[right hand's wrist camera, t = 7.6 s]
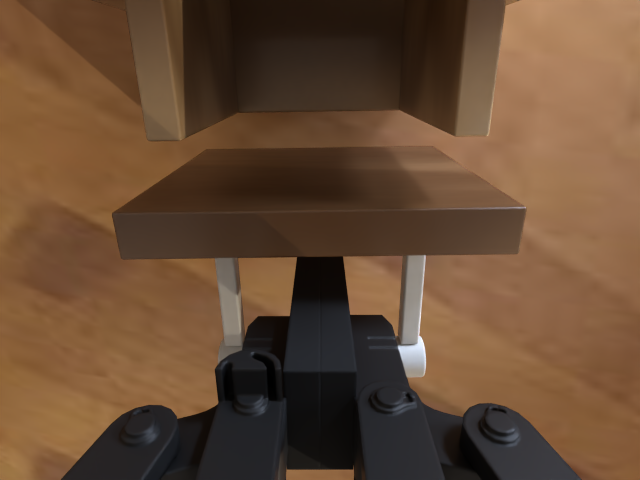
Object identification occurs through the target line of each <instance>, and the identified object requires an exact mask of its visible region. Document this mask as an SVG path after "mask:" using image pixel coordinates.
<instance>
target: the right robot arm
mask: <svg viewBox="0 0 640 480" xmlns="http://www.w3.org/2000/svg"><path fill="white" fill-rule="evenodd" d="M215 375H216V384H217V393H218V405H216V406H215V407H213V408H211V409H209V410H207V411H205V412H202V413H199V414H196V415H192V416H188V417H184V418H179V419H177V416H176V415H175V414H174V412H173V411H172V410H171V409H169V408H167V407H164V406H162V405H147V406H142V407H138V408H135V409H133V410H131V411H129V412H127V413H125V414H123V415H121V416H120V417H119V418H118V419H116V420H115V421H114V422H113V423H112V424H111V425H110V426H109V427H108V428H107V429H106V430H105V431H104V432H103V434H102V435H101V436H100V437H99V438H98V439H97V440H96V441H95V442H94V444H93V445H92V446H91V447H90V448H89V449H88V450H87V451H86V452H85V454H84V455H83V456H82V457H81V458H80V459H79V460H78V461H77V462H76V463H75V465H74V466H73V467H72V468H71V469H70V470H69V471H68V472H67V473H66V475H65V476H64V477H63V478H62V479H61V480H286V468H287V469H353V465H354V480H581V479H580V477H579V476H578V475H577V474H576V473H575V472H574V471H573V470H572V469H571V468H570V466H569V465H568V464H567V463H566V462H565V461H564V460H563V459H562V458H561V457H560V455H559V454H558V453H557V452H556V451H555V450H554V449H553V448H552V447H551V446H550V444H549V443H548V442H547V441H546V440H545V439H544V438H543V437H542V436H541V435H540V433H539V432H538V431H537V430H536V429H535V428H534V427H533V426H532V425H531V424H530V422H528V421H527V420H526V419H525V418H524V417H522V416H521V415H520V414H519V413H517V412H515V411H513V410H511V409H509V408H507V407H505V406H501V405H497V404H492V403H485V404H477V405H475V406H472V407H470V408H469V409H468V410H467V411H466V412H465V414H464V416H463V417H459V416H455V415H451V414H447V413H443V412H440V411H437V410H434V409H432V408H430V407H428V406H427V405H425V404H423V403H422V402H421V400H420V398H419V396H418V395H417V393H416V392H415V391H413V390H412V389H411V388H410V387H409V383H408V380H407V376H406V373H405V369H404V366H403V362H402V359H401V355H400V352H399V349H398V345H397V341H396V339H395V334H394V330H393V327H392V325H391V324H390V323H389V322H388V321H387V320H386V319H385V318H384V317H383V316H382V315H350V311H349V303H348V295H347V286H346V278H345V270H344V262H343V256H338V257H297V263H296V271H295V279H294V287H293V295H292V303H291V312H290V316H258V317H257V318H256V319H255V320H254V321H253V322H252V323H251V324H250V325H249V326H248V329H247V332H246V336H245V341H244V343H243V347H242V350H241V351H238V352H235V353H233V354H230V355H228V356H227V357H225V358H224V359H223V360H221V361H220V362H219V364H218V365H217V367H216V368H215Z"/></svg>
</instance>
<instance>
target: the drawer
mask: <svg viewBox="0 0 640 480" xmlns="http://www.w3.org/2000/svg"><path fill="white" fill-rule="evenodd" d="M124 1H125V8H126V14H127V20H128V26H129V32H130V38H131V44H132V51H133V57H134V63H135V69H136V75H137V81H138V87H139V94H140V100H141V106H142V112H143V118H144V124H145V130H146V137H147V140H148V141H180V140H182V139H184V138H186V137H188V136H191V135H193V134H195V133H197V132H199V131H201V130H203V129H205V128H207V127H209V126H211V125H213V124H215V123H217V122H220V121H222V120H224V119H226V118H228V117H230V116H232V115H234V114H236V113H252V112H316V111H380V110H400V111H403V112H405V113H407V114H409V115H411V116H413V117H415V118H417V119H419V120H422V121H424V122H426V123H428V124H430V125H432V126H434V127H436V128H439V129H441V130H443V131H445V132H447V133H449V134H451V135H453V136H456V137H462V136H487V135H488V134H489V129H490V122H491V114H492V106H493V98H494V91H495V83H496V75H497V67H498V60H499V52H500V44H501V36H502V29H503V21H504V13H505V5H506V0H124ZM525 215H526V207H525V206H523V205H522V204H520V203H519V202H517V201H516V200H514V199H513V198H511V197H510V196H508V195H507V194H505V193H503V192H502V191H500V190H499V189H497V188H496V187H494V186H493V185H491V184H490V183H488V182H487V181H485V180H484V179H482V178H481V177H479V176H478V175H476V174H474V173H473V172H471V171H470V170H468V169H467V168H465V167H464V166H462V165H461V164H459V163H458V162H456V161H455V160H453V159H452V158H450V157H449V156H447V155H445V154H444V153H442V152H441V151H439V150H438V149H436V148H435V147H433V146H405V147H338V148H272V149H207V150H205V151H204V152H202V153H201V154H199V155H198V156H196V157H195V158H193V159H192V160H190V161H189V162H187V163H186V164H184V165H183V166H181V167H180V168H179V169H177V170H176V171H174V172H173V173H171V174H170V175H168V176H167V177H165V178H164V179H162V180H161V181H159V182H158V183H156V184H155V185H153V186H152V187H150V188H149V189H147V190H146V191H144V192H143V193H141V194H140V195H138V196H137V197H135V198H134V199H132V200H131V201H130V202H128V203H127V204H125V205H124V206H122V207H121V208H119V209H118V210H116V211H115V212H113V213H112V217H113V222H114V227H115V232H116V237H117V242H118V246H119V251H120V256H121V259H186V258H215V264H216V273H217V282H218V290H219V299H220V307H221V316H222V324H223V333H224V339H222V341H221V344H220V347H219V353H218V364H219V362H220V361H221V360H223V359H224V358H225V357H227V356H228V355H230V354H233V353H235V352H238V351H241V350H242V347H243V343H244V341H245V329H244V318H243V308H242V297H241V287H240V276H239V266H238V258H262V257H338V256H403V262H402V278H401V294H400V310H399V326H398V336H395V339H396V341H397V345H398V349H399V352H400V355H401V359H402V362H403V366H404V369H405V373H406V376H407V377H423V376H424V374H425V369H426V355H425V347H424V343H423V340H422V338H421V337H420V336H419V330H420V318H421V306H422V294H423V282H424V271H425V259H426V255H489V254H518V253H519V249H520V244H521V238H522V232H523V226H524V220H525Z"/></svg>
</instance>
